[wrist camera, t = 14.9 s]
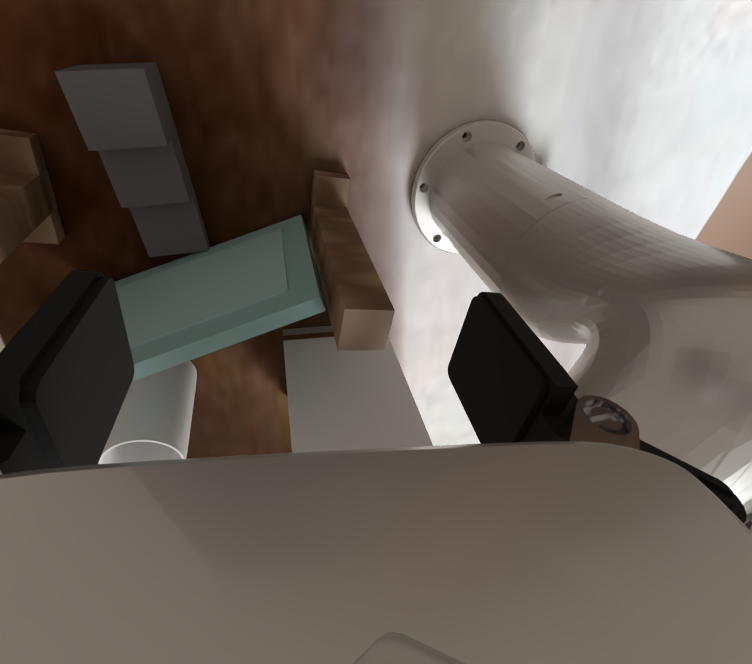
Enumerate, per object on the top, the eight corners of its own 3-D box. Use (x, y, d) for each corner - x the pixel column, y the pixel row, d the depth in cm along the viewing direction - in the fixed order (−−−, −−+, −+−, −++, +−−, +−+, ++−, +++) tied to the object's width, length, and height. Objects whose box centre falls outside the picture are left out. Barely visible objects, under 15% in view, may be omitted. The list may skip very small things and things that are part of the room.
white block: (287, 396, 51) (322, 819, 24) (282, 329, 45) (321, 803, 18) (375, 386, 54) (494, 758, 27) (382, 321, 47) (548, 726, 20)
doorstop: (157, 61, 29) (143, 68, 25) (210, 243, 37) (205, 266, 34) (79, 64, 28) (54, 71, 24) (152, 249, 36) (141, 274, 33)
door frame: (347, 174, 36) (404, 273, 22) (335, 255, 41) (376, 379, 27) (-14, 126, 28) (-270, 232, 15) (22, 233, 33) (-147, 391, 19)
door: (300, 212, 37) (318, 294, 26) (305, 226, 37) (326, 310, 27) (98, 285, 36) (32, 398, 26) (108, 297, 37) (49, 411, 27)
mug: (140, 340, 41) (107, 433, 32) (207, 358, 45) (195, 447, 35) (117, 405, 46) (82, 504, 37) (180, 417, 49) (162, 510, 40)
